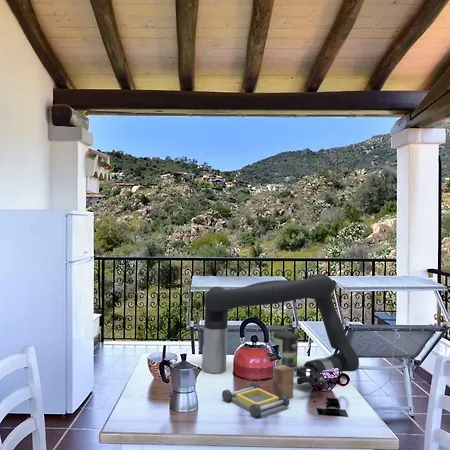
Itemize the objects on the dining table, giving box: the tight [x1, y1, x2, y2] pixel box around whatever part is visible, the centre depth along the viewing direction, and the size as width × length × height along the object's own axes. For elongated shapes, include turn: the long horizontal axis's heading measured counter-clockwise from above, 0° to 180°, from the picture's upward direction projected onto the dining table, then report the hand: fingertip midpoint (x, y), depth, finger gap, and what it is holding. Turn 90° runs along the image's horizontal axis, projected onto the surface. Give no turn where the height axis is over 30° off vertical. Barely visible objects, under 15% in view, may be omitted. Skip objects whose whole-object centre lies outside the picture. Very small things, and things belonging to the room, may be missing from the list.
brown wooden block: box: [271, 365, 295, 400], centre depth 151 cm, size 5×5×10 cm
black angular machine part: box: [316, 397, 349, 418], centre depth 139 cm, size 12×7×5 cm, turn 85°
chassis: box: [221, 381, 290, 419], centre depth 144 cm, size 18×14×4 cm
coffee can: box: [272, 330, 299, 367], centre depth 181 cm, size 10×10×14 cm
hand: (288, 377), depth 152 cm, fingers open, 8 cm apart
